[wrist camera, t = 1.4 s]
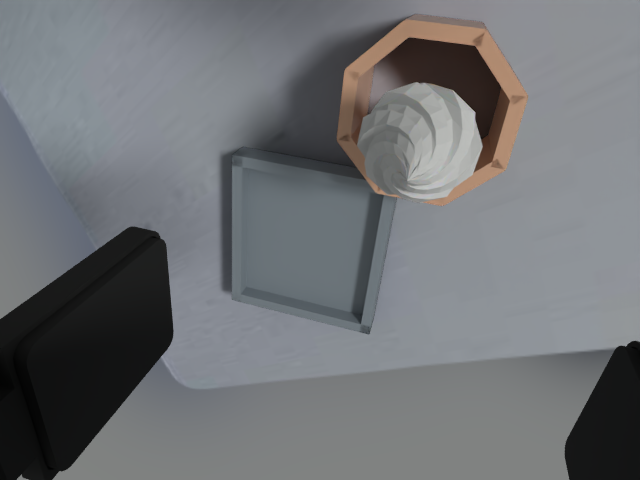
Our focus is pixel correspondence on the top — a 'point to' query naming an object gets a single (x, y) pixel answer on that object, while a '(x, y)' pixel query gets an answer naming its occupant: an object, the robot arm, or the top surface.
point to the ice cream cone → (420, 142)
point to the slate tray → (307, 238)
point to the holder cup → (445, 30)
